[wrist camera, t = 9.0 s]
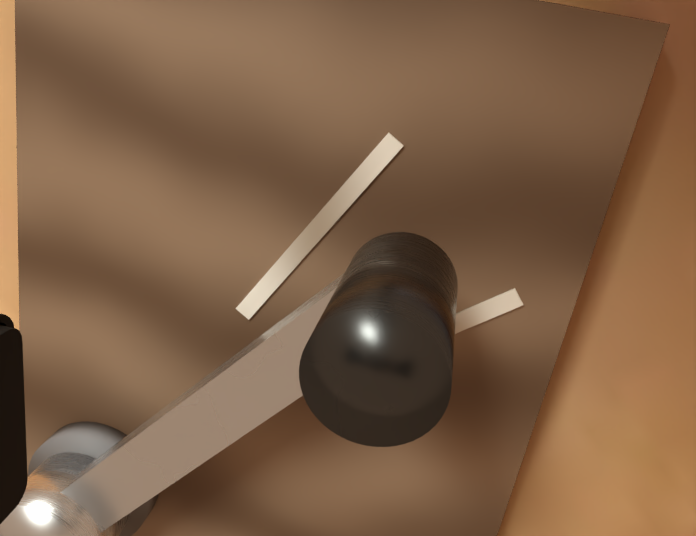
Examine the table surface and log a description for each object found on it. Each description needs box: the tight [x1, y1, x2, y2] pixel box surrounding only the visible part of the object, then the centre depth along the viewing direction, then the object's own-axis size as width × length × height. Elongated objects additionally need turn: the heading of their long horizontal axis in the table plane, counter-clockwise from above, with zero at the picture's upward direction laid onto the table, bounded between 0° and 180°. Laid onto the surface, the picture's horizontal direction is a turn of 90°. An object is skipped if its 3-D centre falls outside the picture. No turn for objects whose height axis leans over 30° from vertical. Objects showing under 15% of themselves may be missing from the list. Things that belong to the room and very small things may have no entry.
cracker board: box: [15, 0, 670, 536], centre depth 23 cm, size 24×19×2 cm
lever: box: [0, 232, 458, 536], centre depth 19 cm, size 20×4×7 cm, turn 130°
